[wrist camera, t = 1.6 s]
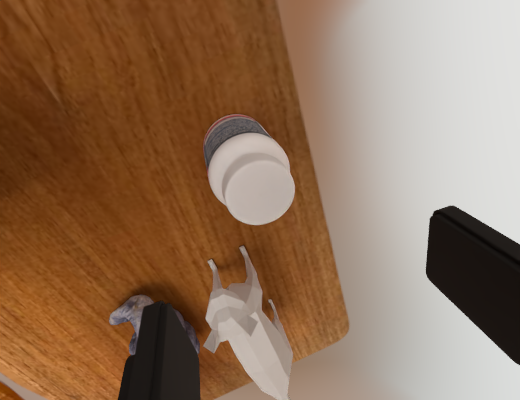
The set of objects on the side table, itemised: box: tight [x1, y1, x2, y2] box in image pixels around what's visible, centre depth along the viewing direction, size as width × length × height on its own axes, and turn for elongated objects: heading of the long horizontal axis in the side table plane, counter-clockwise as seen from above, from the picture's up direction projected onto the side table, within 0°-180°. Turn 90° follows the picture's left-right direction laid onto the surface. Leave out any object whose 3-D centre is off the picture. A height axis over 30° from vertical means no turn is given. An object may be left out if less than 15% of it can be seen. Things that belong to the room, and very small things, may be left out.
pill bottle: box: [203, 114, 295, 225], centre depth 20 cm, size 5×5×9 cm
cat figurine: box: [204, 245, 293, 400], centre depth 25 cm, size 4×20×14 cm, turn 20°
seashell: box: [109, 294, 200, 355], centre depth 28 cm, size 5×5×10 cm
